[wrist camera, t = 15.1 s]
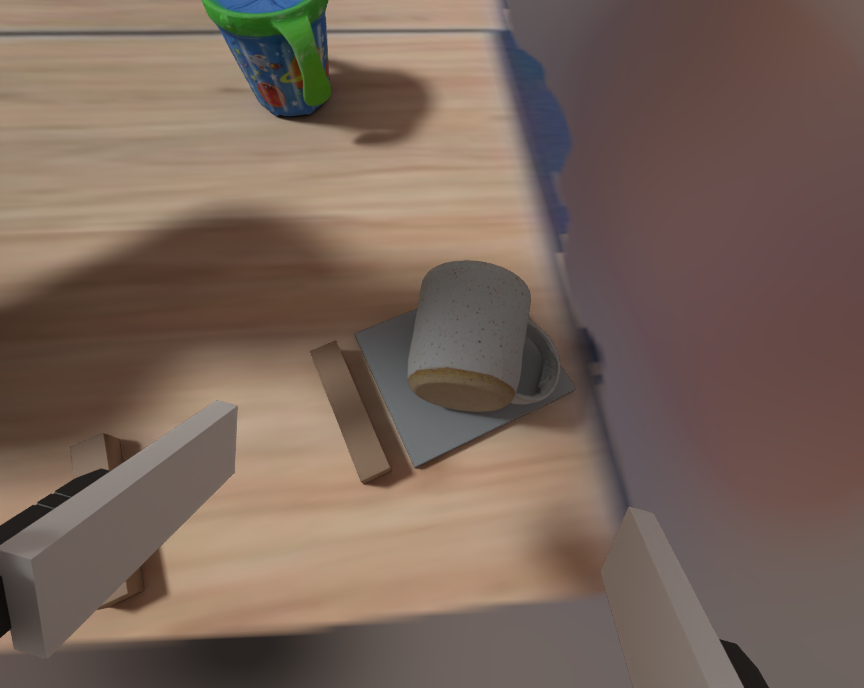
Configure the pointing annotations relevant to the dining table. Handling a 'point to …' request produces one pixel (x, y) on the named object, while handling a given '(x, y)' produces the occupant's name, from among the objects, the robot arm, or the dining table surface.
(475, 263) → the ceramic mug
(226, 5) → the snack cup
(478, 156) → the dining table surface
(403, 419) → the slate mat
